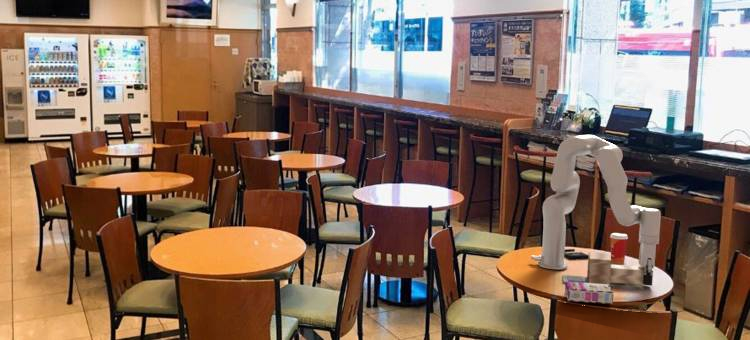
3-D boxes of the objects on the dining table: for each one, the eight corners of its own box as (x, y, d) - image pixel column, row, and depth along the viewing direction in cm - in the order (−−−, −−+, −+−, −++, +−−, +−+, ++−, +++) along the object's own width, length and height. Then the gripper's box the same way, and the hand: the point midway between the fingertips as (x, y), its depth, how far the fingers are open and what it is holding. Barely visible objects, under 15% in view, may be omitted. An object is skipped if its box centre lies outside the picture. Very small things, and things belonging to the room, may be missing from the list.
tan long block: (563, 284, 291) (564, 256, 289) (562, 276, 302) (563, 250, 301) (643, 290, 284) (645, 262, 282) (639, 282, 295) (641, 255, 294)
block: (610, 282, 289) (611, 267, 289) (608, 278, 295) (609, 264, 294) (652, 285, 286) (653, 271, 285) (649, 281, 292) (650, 267, 291)
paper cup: (611, 261, 330) (613, 232, 328) (628, 264, 326) (630, 234, 324) (606, 264, 324) (607, 234, 322) (623, 267, 319) (625, 237, 318)
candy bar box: (567, 302, 267) (613, 304, 265) (568, 289, 267) (613, 291, 264) (564, 293, 278) (608, 296, 276) (565, 281, 278) (609, 283, 275)
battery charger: (588, 263, 327) (588, 255, 326) (569, 264, 324) (570, 256, 324) (573, 257, 339) (574, 248, 339) (555, 257, 337) (555, 249, 336)
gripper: (636, 234, 296) (633, 275, 298) (642, 243, 279) (638, 287, 281) (655, 235, 294) (652, 277, 297) (662, 244, 278) (659, 288, 280)
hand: (645, 281), depth 289 cm, fingers open, 7 cm apart
